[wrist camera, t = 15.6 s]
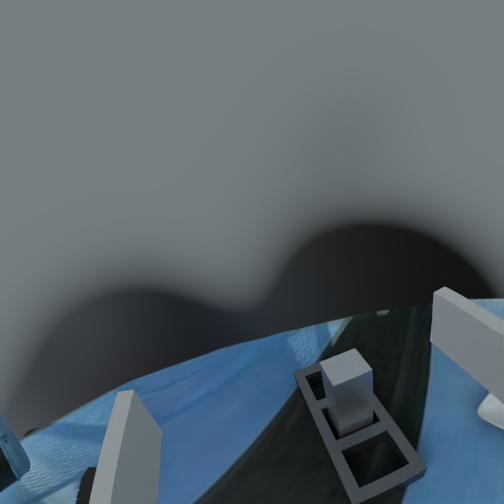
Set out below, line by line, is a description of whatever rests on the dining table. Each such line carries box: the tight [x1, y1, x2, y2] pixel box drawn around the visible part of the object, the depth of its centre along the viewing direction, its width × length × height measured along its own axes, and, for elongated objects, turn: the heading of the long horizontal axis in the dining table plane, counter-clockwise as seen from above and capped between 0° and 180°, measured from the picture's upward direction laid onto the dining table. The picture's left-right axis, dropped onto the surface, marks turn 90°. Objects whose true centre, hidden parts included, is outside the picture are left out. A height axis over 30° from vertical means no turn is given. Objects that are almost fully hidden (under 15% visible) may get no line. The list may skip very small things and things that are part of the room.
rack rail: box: [294, 363, 427, 504], centre depth 32 cm, size 9×26×2 cm, turn 8°
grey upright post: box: [319, 348, 373, 439], centre depth 31 cm, size 5×5×12 cm
